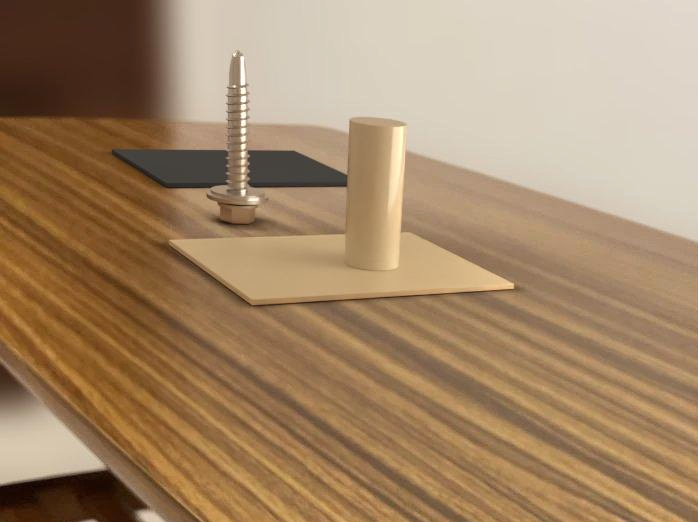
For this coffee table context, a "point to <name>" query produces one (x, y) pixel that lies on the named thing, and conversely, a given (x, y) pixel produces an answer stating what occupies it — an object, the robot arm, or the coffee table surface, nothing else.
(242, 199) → the screw
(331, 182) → the slate mat
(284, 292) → the cream mat
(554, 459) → the coffee table surface
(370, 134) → the cream peg
